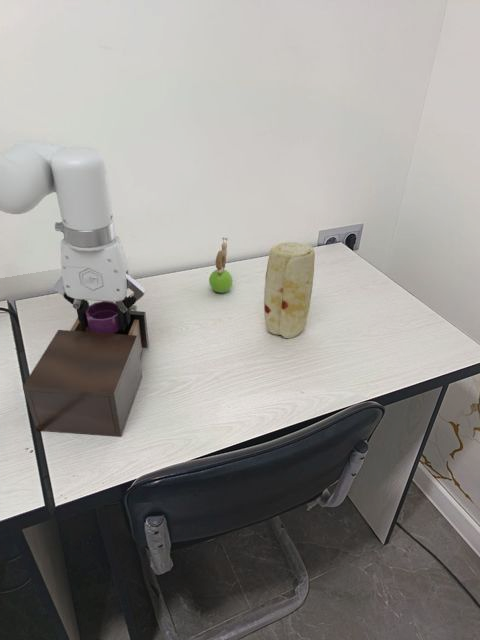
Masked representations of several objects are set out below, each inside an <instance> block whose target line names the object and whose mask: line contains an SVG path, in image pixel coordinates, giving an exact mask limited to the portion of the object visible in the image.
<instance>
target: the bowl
mask: <svg viewBox="0 0 480 640" xmlns="http://www.w3.org/2000/svg"><path fill="white" fill-rule="evenodd" d="M118 311H119V308H118V306H117V304H116V303H115V302H111V301H96V302H93V303H92V304H89V306H88V307H87V309H86V311H85V315H86V320H87V325H88V328H89V331H90V332H96V333H109V334H114V333H116V332H117V331H119V330H120V328H119V321H118Z"/></svg>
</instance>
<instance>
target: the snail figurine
mask: <svg viewBox="0 0 480 640" xmlns="http://www.w3.org/2000/svg"><path fill="white" fill-rule="evenodd" d="M221 239H222V243H221V250H219V251H218V252H217V254H216V258H215V267H216V269H215V270H213V271H212V272H211V274H210V275H209V277H208V284H209V287H210V288H211V289H212V290H213V291H214V292H216V293H219V294H221V293H226V292H227V291H229V290H230V289H231V288H232V286H233V281H234V280H233V276H232V274H231V272H229V271H228V270H227V269H225V268H226V263H227V254H228V252H227V250H228V244H227V241H228V237H224V236H223V237H222V238H221ZM224 241H225V242H224Z"/></svg>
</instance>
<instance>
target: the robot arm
mask: <svg viewBox="0 0 480 640" xmlns="http://www.w3.org/2000/svg"><path fill="white" fill-rule="evenodd" d="M109 186H110V185H109V178H108V171H107V163H106V160H105V156H104V155H103V154H102V153H101V152H100V151H99V150H97V149H95V148H92V147H89V146H88V147H87V146H69V147H68V146H67V147H66V146H61V145H58V144H57V145H56V144H53V143H50V142H49V143H48V142H45V141H40V140H36V139H27V140H22V141H20V142H17V143H15V144H14V145H12V146H11V147H10V148H8V149H6V150H5V151H4V152H2V153H1V152H0V212H3V213H6V214H10V215H22V214H26V213H28V212H31V211H32V210H33V209H34V208H36V207H37V206H38V205H39V204H40V203H41V202H42V201H43V200H44V199H45V198H46V197H47V196H49V195H51V194H52V193H55V194H56V197H57V198H56V199H57V202H58V207H59V212H60V218H61V221H60V222H58V221H57V222H54V223H55V224H54V230H55V232H60V233H62V234H63V238H62V239H61V241H60V265H61V266H60V267H61V274H62V276H60V278H59V279H58V280H57V281H56V282H55V283H54V285H53V286H52V288H53V290H54V291H55V292H57V293H58V294H59V295H61V296H62V297H63V298H64V300H66V301H67V302H69V303H70V304H71V305H72V308H73V309H75V310H76V315H77V318H78V319H79V321H81V325H82V328H87V327H88V325H87V320H86V315H85V311H86V309H87V307H88V306H90V303H89V301H95V302H102V301H110V302H114V303H116V304H117V306H118V308H119V311H118V321H119V328H120V330H121V331H124V330H125V328H126V326H127V325H129V323H130V312H129V308H130V307H131V306H132V305H136V302H138V301H139V300H140V299H141V298H143V297H144V296H145V294H146V288H145V287H143V286H142V284H140V283H139V282H138V281H136V280H135V279H134V278H133V277H132V276H131V275H130V270H129V269H130V268H129V265H128V260H127V256H126V253H125V250H124V246H123V244H122V242H121V239H120V237H119V236H117V235H116V230H115V223H114V217H113V209H112V201H111V193H110V187H109ZM129 289H130V291H132V293H130V295H128V290H129Z"/></svg>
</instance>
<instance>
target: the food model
mask: <svg viewBox="0 0 480 640" xmlns="http://www.w3.org/2000/svg"><path fill="white" fill-rule="evenodd" d="M315 259H316V252H315V249H314V247H313V246H312V245H310V244H307V243H300V242H295V241H286V242H280V243H278V244H276V245H273V246H272V247H271V248H270V250H269V254H268V259H267V266H266V272H265V279H264V280H265V281H264V291H263V292H264V293H263V296H264V297H263V311H264V312H263V313H264V314H263V315H264V323H265V328H266V330H267V331H268V332H269V333H270V334H273V335H277V336H278V335H280V336H282V338H284V339H293V338H294V337H297V336H298V335H299V334H301V333H302V331H304V330H305V328H306V327H307V322H308V316H309V312H310V306H311V301H312V300H311V299H312V294H313V293H312V292H313V286H314V277H315V276H314V275H315Z"/></svg>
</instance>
